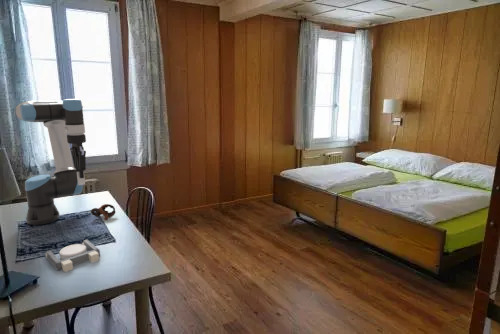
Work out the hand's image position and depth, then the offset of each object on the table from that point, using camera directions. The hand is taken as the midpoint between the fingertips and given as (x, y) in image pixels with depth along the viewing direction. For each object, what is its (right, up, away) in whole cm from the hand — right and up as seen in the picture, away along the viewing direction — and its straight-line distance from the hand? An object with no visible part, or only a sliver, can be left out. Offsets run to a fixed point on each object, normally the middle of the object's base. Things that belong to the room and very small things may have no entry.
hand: (81, 184), depth 156 cm
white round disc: (+5, -29, -16) cm, 34 cm away
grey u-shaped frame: (+6, -29, -18) cm, 35 cm away
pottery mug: (0, -20, +25) cm, 32 cm away
